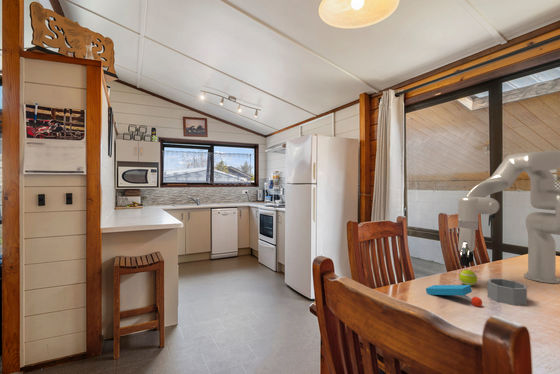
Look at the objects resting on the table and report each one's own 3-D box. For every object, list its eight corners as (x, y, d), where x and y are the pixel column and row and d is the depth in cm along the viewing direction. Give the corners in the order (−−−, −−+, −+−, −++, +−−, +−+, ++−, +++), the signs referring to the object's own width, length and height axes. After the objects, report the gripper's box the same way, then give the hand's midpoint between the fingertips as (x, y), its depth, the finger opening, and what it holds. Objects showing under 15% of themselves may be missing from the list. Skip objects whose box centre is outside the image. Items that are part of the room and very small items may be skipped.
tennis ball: (471, 288, 122) (471, 273, 122) (455, 284, 127) (455, 269, 127) (480, 286, 125) (480, 271, 125) (464, 281, 131) (464, 267, 131)
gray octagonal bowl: (490, 291, 119) (490, 276, 119) (527, 298, 111) (527, 283, 111) (486, 299, 110) (486, 283, 110) (526, 307, 102) (526, 291, 102)
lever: (430, 306, 115) (479, 309, 101) (425, 288, 117) (473, 288, 102) (438, 302, 119) (487, 304, 105) (433, 285, 121) (481, 285, 106)
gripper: (462, 222, 135) (461, 258, 135) (453, 225, 122) (452, 265, 122) (481, 224, 130) (480, 262, 130) (474, 227, 117) (473, 269, 117)
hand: (466, 263), depth 126 cm, fingers open, 9 cm apart
